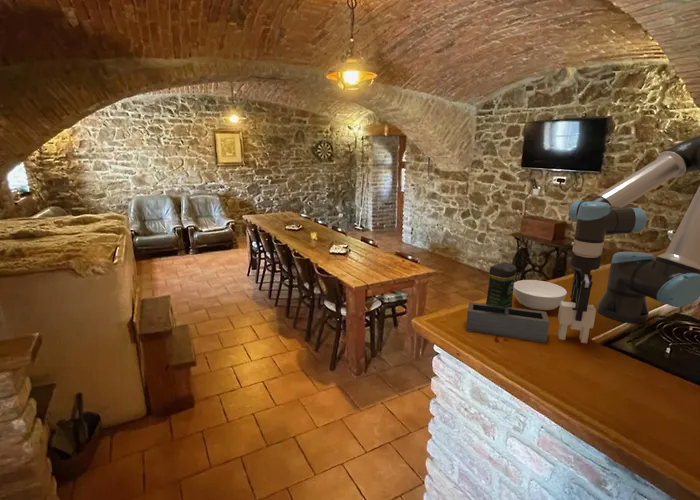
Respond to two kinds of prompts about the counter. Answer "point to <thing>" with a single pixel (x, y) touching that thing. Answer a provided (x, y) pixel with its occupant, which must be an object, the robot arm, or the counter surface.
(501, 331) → the grey rectangular trough
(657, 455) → the counter surface
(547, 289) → the bowl
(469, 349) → the counter surface
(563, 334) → the tall white notched block
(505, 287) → the coffee jar
